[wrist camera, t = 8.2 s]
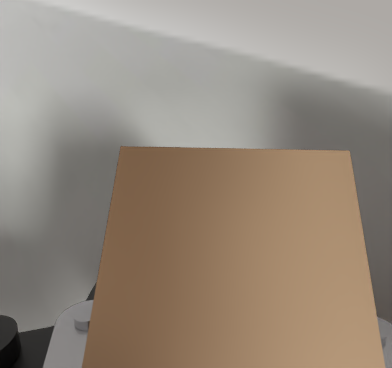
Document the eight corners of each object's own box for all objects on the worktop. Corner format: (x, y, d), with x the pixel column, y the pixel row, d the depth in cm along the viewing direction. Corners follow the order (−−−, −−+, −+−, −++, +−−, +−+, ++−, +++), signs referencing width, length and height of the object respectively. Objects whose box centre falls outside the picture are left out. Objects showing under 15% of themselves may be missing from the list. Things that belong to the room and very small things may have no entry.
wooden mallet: (415, 280, 14) (736, 157, 6) (446, 424, 12) (1063, 606, 3) (176, 269, 15) (120, 146, 6) (166, 404, 13) (55, 510, 4)
